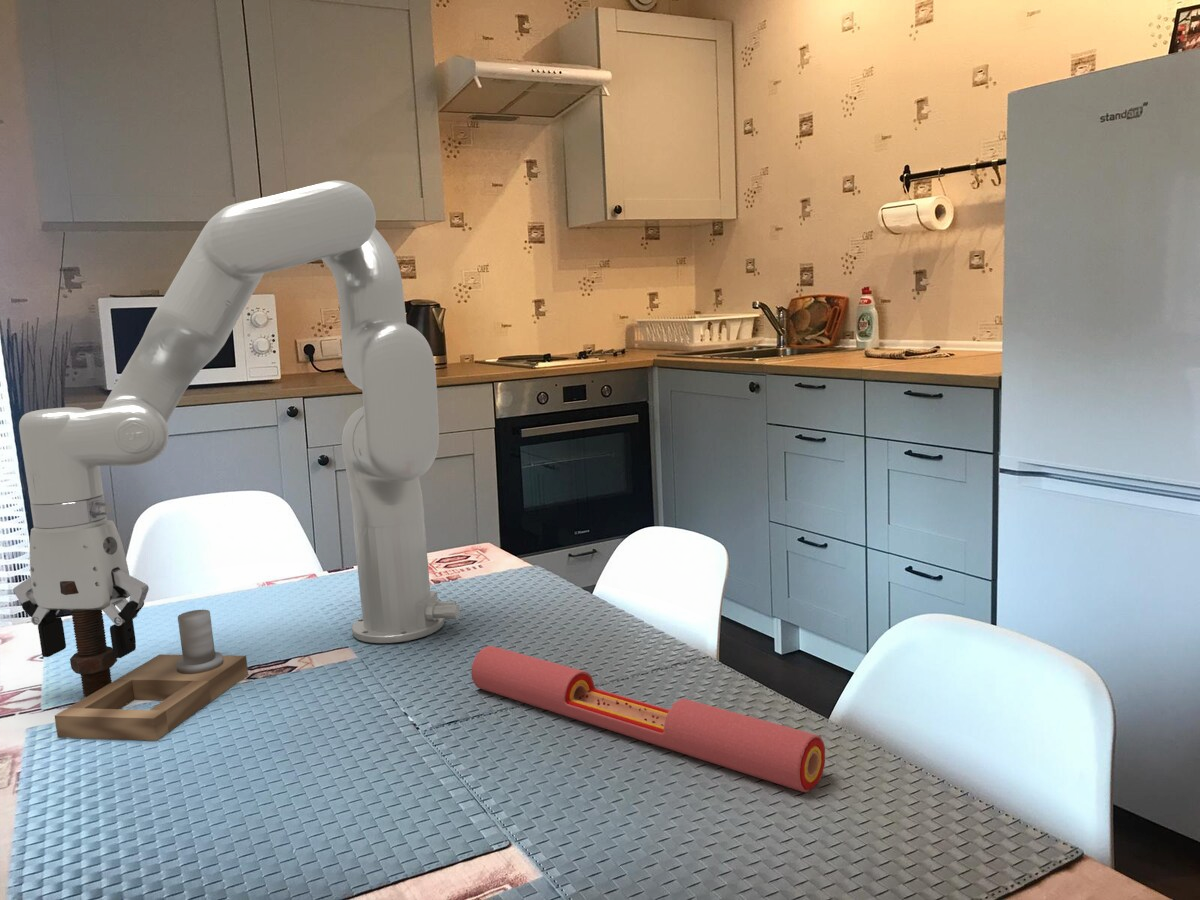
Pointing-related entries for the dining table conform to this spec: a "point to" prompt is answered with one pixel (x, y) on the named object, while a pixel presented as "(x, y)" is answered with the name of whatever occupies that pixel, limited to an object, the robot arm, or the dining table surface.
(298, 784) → the dining table surface
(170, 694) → the wooden peg holder
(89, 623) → the bolt
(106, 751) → the dining table surface
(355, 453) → the robot arm
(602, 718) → the blood vessel
